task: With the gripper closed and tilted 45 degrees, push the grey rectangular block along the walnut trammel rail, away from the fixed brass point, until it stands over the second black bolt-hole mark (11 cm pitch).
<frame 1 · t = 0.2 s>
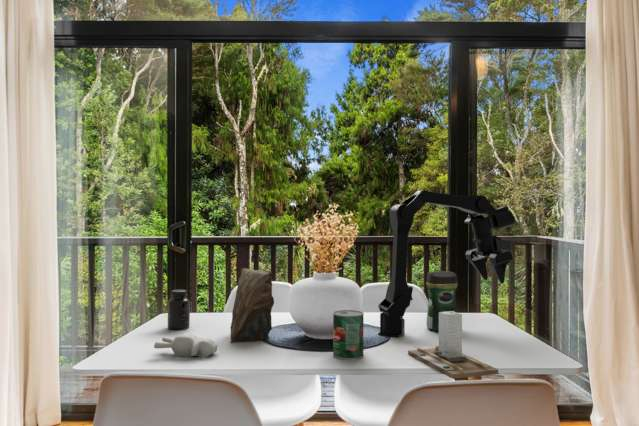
hand: (494, 281, 163), 15 cm above the table, tool pointing down, fingers open, 9 cm apart
tall brown stone: (246, 338, 150), on the table
grey rectangular block: (447, 335, 124), point 7 cm above the table, slide at 0.0 cm
bunny figurine: (187, 356, 132), on the table
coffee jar: (441, 330, 163), on the table
supplement bottle: (178, 328, 163), on the table
trammel board: (450, 363, 125), on the table
canned tomato: (348, 356, 132), on the table
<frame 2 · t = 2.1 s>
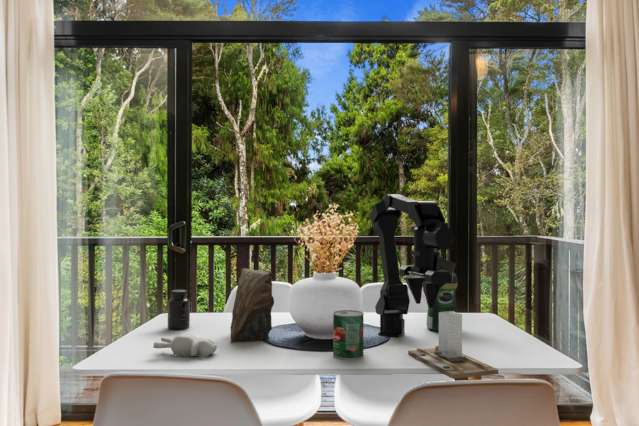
hand: (424, 305, 137), 12 cm above the table, tool pointing down, fingers open, 6 cm apart
nothing on the table moved.
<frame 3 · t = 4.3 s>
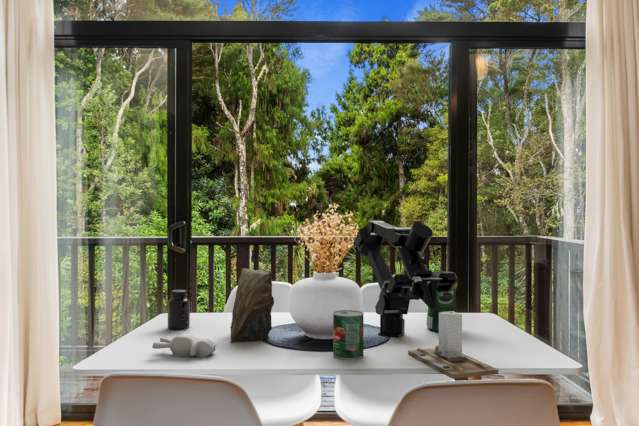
hand: (433, 309, 132), 12 cm above the table, tool tilted 45°, fingers closed
nothing on the table moved.
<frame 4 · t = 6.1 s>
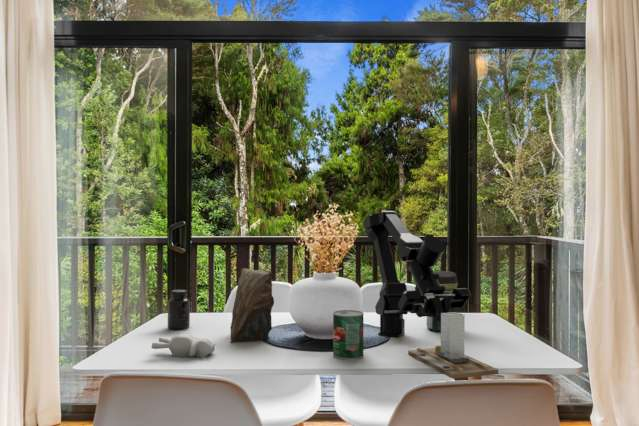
hand: (447, 327, 126), 9 cm above the table, tool tilted 45°, fingers closed, pressing on grey rectangular block
grey rectangular block: (449, 336, 123), point 7 cm above the table, slide at 1.0 cm, touching gripper
everything else where it was.
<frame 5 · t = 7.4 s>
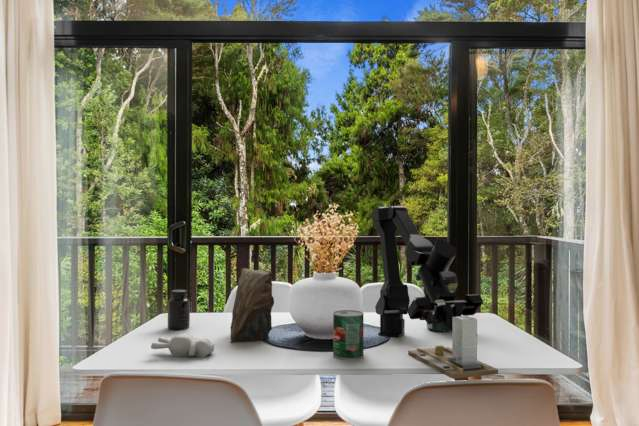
hand: (459, 335, 121), 8 cm above the table, tool tilted 45°, fingers closed
grey rectangular block: (461, 341, 119), point 7 cm above the table, slide at 6.1 cm
everything else where it was.
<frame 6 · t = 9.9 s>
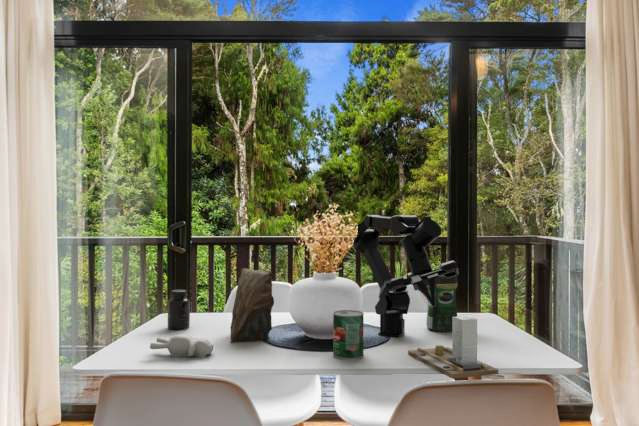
hand: (434, 306, 137), 12 cm above the table, tool tilted 30°, fingers closed
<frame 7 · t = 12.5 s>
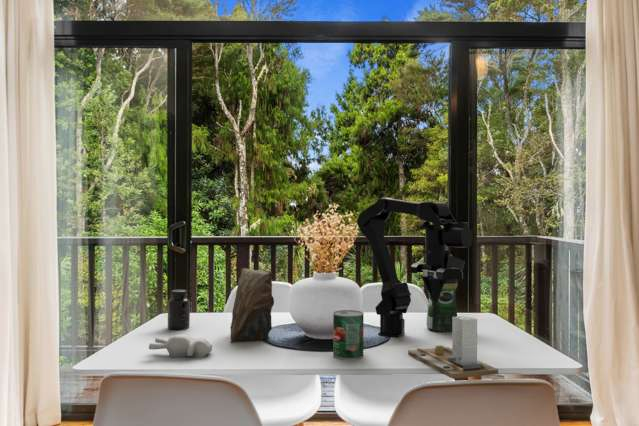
hand: (435, 301, 144), 12 cm above the table, tool pointing down, fingers closed
at the end: grey rectangular block slide at 6.1 cm; grey rectangular block touching nothing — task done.
